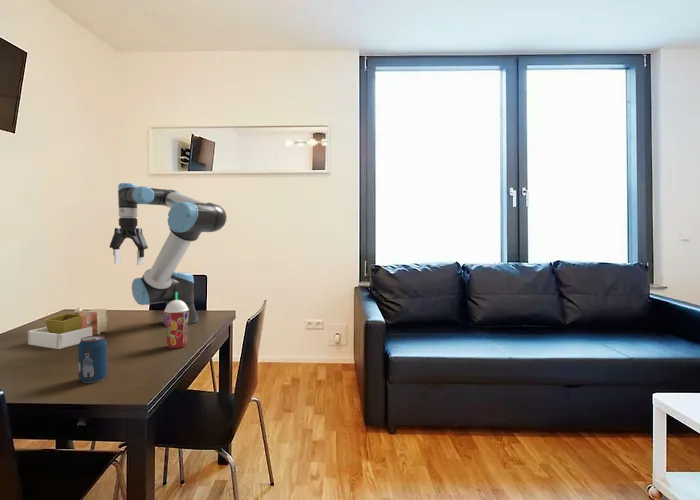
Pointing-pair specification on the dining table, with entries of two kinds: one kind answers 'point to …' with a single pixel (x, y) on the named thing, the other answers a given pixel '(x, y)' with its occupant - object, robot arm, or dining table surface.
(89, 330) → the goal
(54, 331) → the flower pot
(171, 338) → the smoothie
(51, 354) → the dining table surface
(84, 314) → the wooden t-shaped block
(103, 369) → the soda can
